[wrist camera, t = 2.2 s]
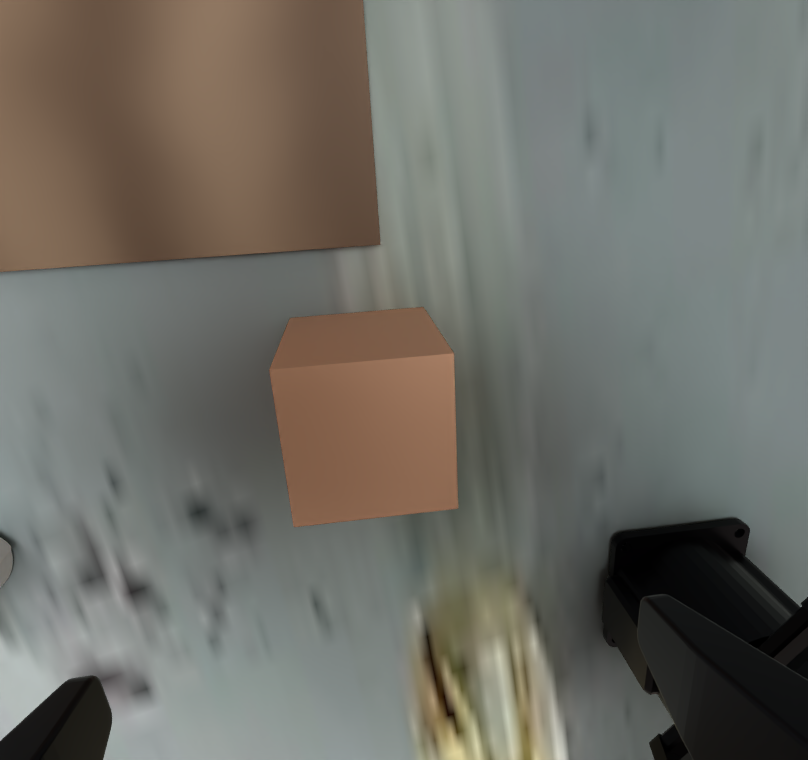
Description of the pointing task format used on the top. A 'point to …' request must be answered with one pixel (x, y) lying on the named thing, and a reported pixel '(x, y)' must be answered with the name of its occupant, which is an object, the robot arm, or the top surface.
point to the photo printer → (5, 561)
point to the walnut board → (182, 130)
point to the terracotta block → (366, 416)
